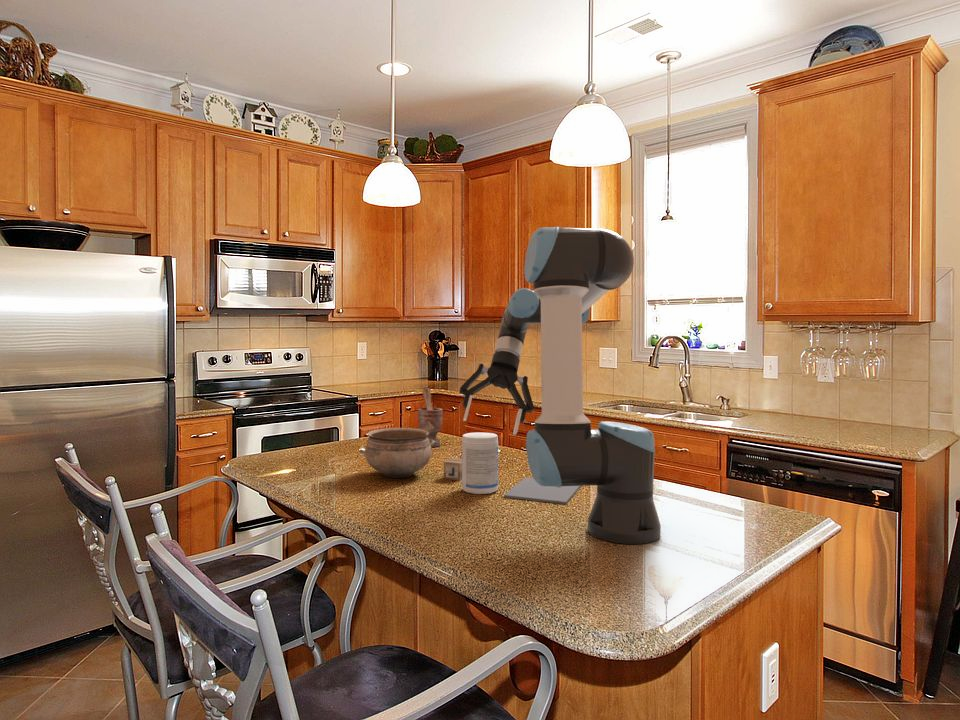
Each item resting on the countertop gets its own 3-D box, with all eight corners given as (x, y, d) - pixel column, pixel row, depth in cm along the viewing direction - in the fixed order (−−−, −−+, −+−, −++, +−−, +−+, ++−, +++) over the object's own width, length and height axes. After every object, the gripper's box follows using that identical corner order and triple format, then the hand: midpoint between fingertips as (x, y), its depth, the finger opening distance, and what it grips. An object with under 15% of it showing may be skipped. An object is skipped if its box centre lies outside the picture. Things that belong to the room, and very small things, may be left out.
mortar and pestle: (408, 443, 233) (409, 388, 231) (428, 441, 238) (429, 386, 237) (426, 448, 223) (426, 391, 222) (446, 446, 229) (447, 389, 227)
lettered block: (459, 481, 180) (459, 463, 180) (443, 479, 182) (443, 461, 182) (466, 476, 185) (467, 459, 185) (450, 475, 187) (450, 458, 187)
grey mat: (566, 504, 159) (566, 501, 159) (503, 497, 164) (504, 494, 164) (582, 485, 178) (582, 482, 178) (525, 479, 183) (525, 477, 183)
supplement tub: (505, 492, 169) (506, 436, 168) (474, 497, 164) (475, 439, 163) (484, 483, 177) (485, 430, 176) (454, 488, 172) (455, 433, 171)
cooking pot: (378, 489, 170) (379, 443, 170) (342, 475, 185) (342, 433, 184) (453, 475, 187) (453, 433, 186) (414, 463, 201) (415, 424, 200)
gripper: (546, 374, 183) (532, 443, 173) (461, 350, 182) (442, 418, 172) (553, 362, 176) (539, 433, 166) (465, 338, 176) (445, 407, 166)
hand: (490, 426), depth 169 cm, fingers open, 13 cm apart
